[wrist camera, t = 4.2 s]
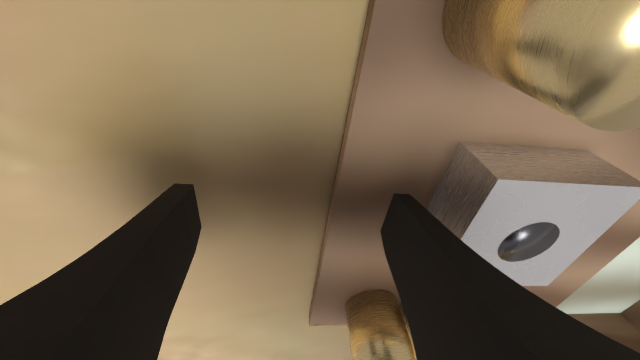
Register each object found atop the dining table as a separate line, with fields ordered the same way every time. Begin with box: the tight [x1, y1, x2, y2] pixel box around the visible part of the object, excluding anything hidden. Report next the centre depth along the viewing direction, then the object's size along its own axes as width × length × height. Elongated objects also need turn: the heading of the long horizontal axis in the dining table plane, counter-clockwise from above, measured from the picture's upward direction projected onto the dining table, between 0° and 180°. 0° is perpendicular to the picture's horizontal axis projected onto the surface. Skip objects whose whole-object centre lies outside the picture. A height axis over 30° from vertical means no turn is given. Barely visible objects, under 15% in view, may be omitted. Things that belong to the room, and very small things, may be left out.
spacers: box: [345, 0, 640, 360], centre depth 11 cm, size 19×10×4 cm, turn 173°
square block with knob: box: [427, 141, 640, 286], centre depth 11 cm, size 6×6×2 cm
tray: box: [309, 0, 640, 353], centre depth 12 cm, size 20×24×4 cm
